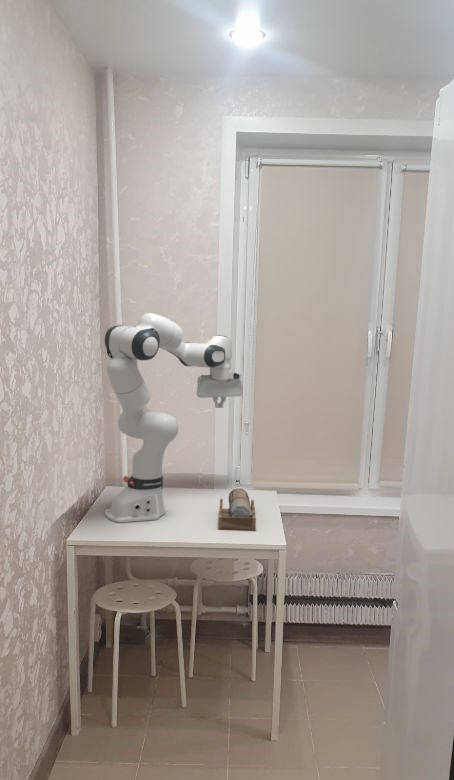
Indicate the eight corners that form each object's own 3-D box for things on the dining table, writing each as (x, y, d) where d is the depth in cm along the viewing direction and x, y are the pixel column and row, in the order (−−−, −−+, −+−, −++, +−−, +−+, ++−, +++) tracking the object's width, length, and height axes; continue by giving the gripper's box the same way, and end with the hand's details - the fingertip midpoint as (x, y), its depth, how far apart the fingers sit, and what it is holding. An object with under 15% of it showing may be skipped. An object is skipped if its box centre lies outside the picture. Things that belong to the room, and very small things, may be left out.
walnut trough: (219, 510, 234) (220, 498, 233) (253, 511, 234) (253, 499, 233) (218, 529, 212) (218, 517, 211) (255, 530, 212) (255, 518, 211)
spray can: (246, 511, 235) (250, 527, 215) (225, 506, 235) (228, 522, 215) (251, 490, 235) (256, 504, 215) (230, 486, 234) (233, 499, 214)
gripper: (201, 375, 241) (200, 409, 242) (244, 374, 251) (243, 407, 253) (194, 374, 246) (193, 407, 248) (237, 373, 257) (235, 405, 258)
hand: (219, 407), depth 250 cm, fingers closed
